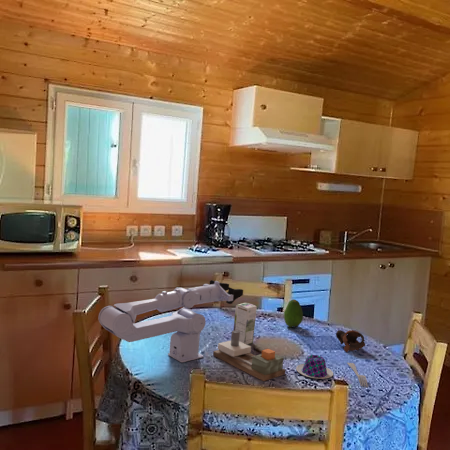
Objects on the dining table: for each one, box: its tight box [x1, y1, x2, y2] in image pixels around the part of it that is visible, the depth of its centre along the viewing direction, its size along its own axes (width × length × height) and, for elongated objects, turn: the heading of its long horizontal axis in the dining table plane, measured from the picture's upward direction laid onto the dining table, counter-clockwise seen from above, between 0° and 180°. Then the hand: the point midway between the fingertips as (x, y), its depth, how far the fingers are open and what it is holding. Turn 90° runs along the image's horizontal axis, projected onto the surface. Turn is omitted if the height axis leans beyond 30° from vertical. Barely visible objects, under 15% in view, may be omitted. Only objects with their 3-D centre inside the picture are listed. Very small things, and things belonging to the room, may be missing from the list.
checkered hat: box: [295, 354, 334, 380], centre depth 161 cm, size 12×12×5 cm
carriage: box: [217, 330, 252, 357], centre depth 167 cm, size 8×8×7 cm
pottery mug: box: [335, 329, 366, 353], centre depth 186 cm, size 12×10×8 cm
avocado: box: [283, 298, 304, 328], centre depth 206 cm, size 8×8×12 cm
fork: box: [346, 362, 368, 387], centre depth 162 cm, size 3×21×3 cm, turn 179°
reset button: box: [261, 348, 276, 360], centre depth 156 cm, size 3×3×3 cm
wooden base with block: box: [212, 349, 286, 382], centre depth 162 cm, size 10×24×6 cm, turn 42°
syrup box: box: [232, 302, 258, 345], centre depth 182 cm, size 6×6×14 cm
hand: (235, 289), depth 176 cm, fingers open, 7 cm apart
